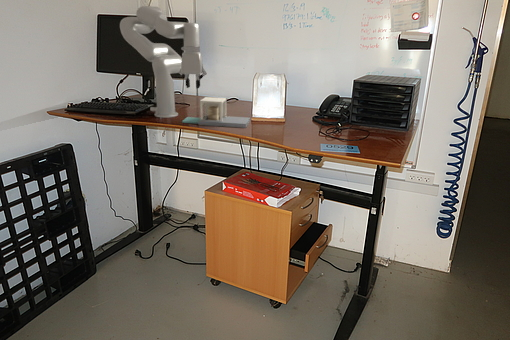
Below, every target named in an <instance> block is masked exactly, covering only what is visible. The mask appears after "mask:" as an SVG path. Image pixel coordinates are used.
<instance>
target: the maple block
mask: <svg viewBox="0 0 510 340" xmlns="http://www.w3.org/2000/svg"><path fill="white" fill-rule="evenodd" d="M208 120H218V121H219V106H210V107H208Z"/></svg>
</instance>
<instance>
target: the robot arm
mask: <svg viewBox="0 0 510 340" xmlns="http://www.w3.org/2000/svg"><path fill="white" fill-rule="evenodd" d="M135 14H136V16H127V17H124V18H122V19H121V20H120V22H119V29H120V33H121V35H122V37H123V39H124V40H125V41H126V42H127V43H128V44H129V45H130V46H132V48H133V49H135V50H136V51H137V52H138V53H139V54H140V55H141V56H142V58H144V59H145V60H147V62H149V63H151V65H152V71H153V74H154V80H155V93H156V94H155V95H156V106H155V107H154V106H150V109H149V110H150V111H151V112H154V117H156V118H163V119H165V118H175V117H177V116H179V113H178V112H177V111H176V107H175V106H176V104H175V103H176V102H175V83H174V80H173V78H172V76H171V74H180V76H182V78H184V80H185V86H186V88H187V89H189V88H190V87H191V85H190V84H191V83H190V81H191V80H190V78H189V77H190V75H195V76H196V81H195V85H196V86H195V87H196V89H197V90H198V89H199V88H200V87H201V79H203V78H204V77H205V76H206V75H207V72H206V69H205V68H204V64H203V63H204V62H203V56H202V53H201V52H200V50H201V49H200V47H201V46H200V42H201V41H200V26H199V23H197V22H184V21H169V20H168V17H167V15H166V14H165V12H164V11H163V10H162V8H160V7H159V6H152V5H150V6H149V5H142V6H140V7H138V8H137V10H136V13H135ZM154 30H155V31H156V33H157V34H159V35H161V36H163V37H165V38H167V39H183V46H182V47H181V48H180V49H181V50H182V51H183V52H182V54H181V55H180V54H178V52H176V50H174V49H173V48H172V47H171V46H170V45H168V44H167V43H161V42H160V43H159V42H158V43H157V42H155V43H154V42H152V41H151V40H150V39H148V38H147V37H146V36H145V35H146V34H150V33H152V32H153V31H154ZM143 34H144V35H143Z"/></svg>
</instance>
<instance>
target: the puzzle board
mask: <svg viewBox="0 0 510 340" xmlns="http://www.w3.org/2000/svg"><path fill="white" fill-rule="evenodd" d="M250 122H251V117H246V116H245V117H243V116H229V115H228V116H227V115H226V117H222V121H220V117H219V121H218V120H208V116H205V115H203V120H201V119H200V120H199V124H198V126H211V127H226V128H240V129H241V128H242V129H246V128H247V127H248V126H249V124H250Z"/></svg>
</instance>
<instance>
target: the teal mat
mask: <svg viewBox="0 0 510 340" xmlns="http://www.w3.org/2000/svg"><path fill="white" fill-rule="evenodd" d="M200 119H201V117H191V116H186V118H184V119H183V120H182V121H181V124H182V123H185V124H198V125H199V120H200Z"/></svg>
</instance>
